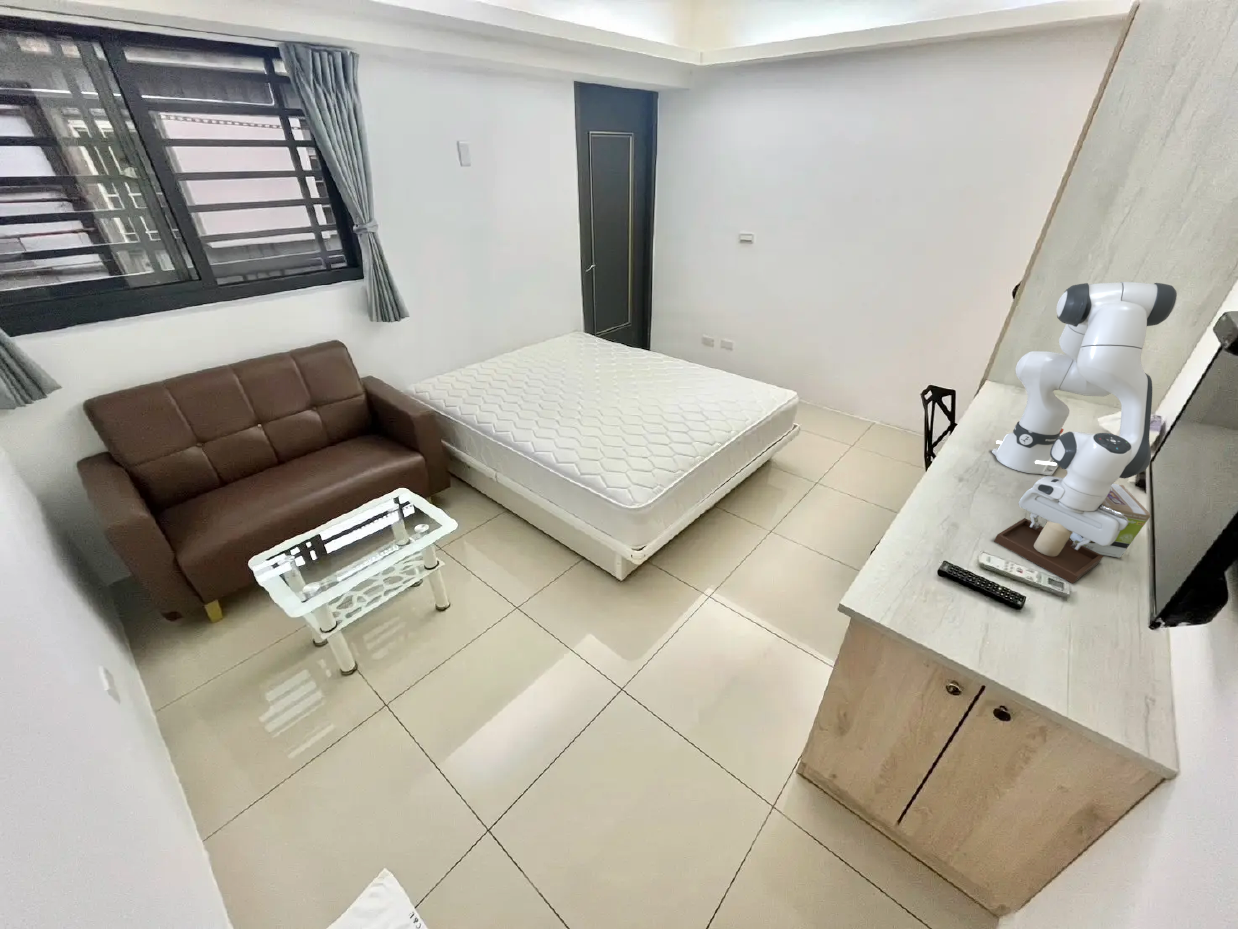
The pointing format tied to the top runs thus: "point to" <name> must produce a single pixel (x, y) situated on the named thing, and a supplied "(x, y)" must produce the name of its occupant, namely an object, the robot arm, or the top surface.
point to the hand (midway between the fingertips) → (1053, 537)
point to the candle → (1052, 539)
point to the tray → (1063, 565)
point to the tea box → (1132, 511)
